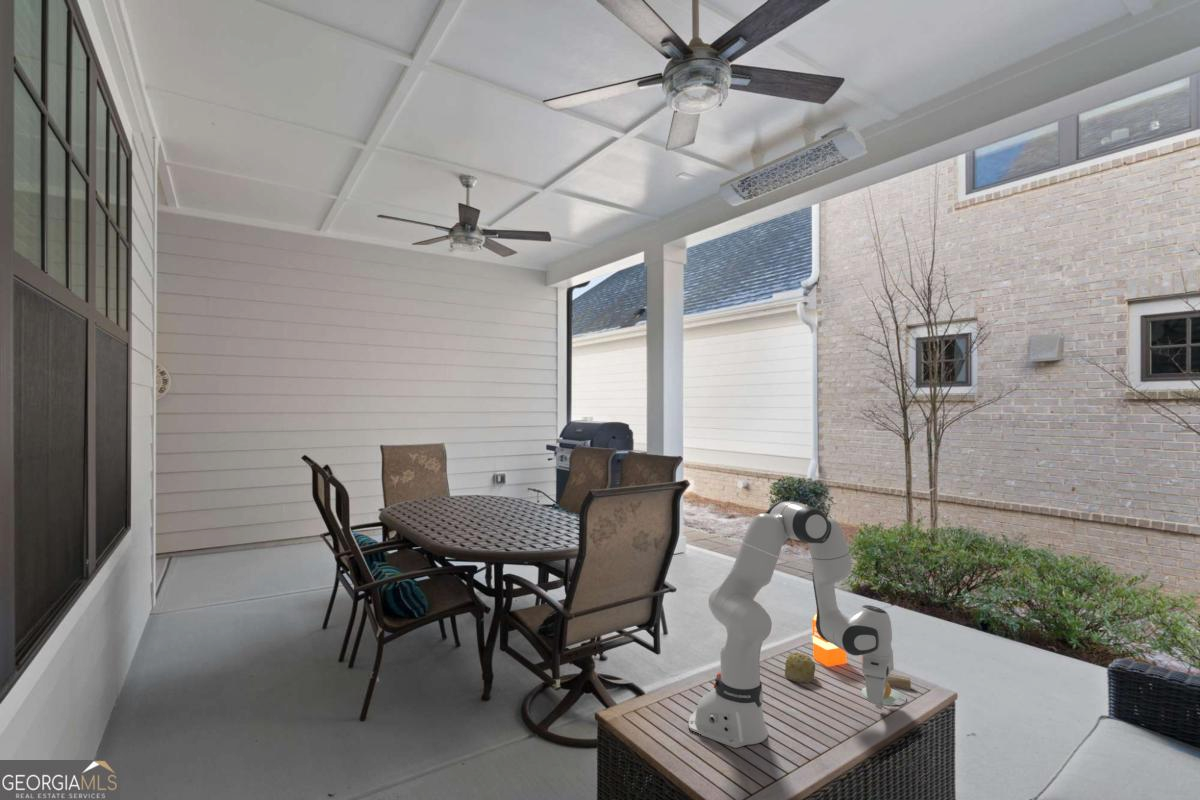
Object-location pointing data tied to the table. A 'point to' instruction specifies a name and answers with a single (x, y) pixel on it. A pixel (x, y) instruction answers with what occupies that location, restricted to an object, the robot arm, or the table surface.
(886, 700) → the disc
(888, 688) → the ball
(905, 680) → the bar
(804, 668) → the rock
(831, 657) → the orange juice
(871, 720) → the table surface
